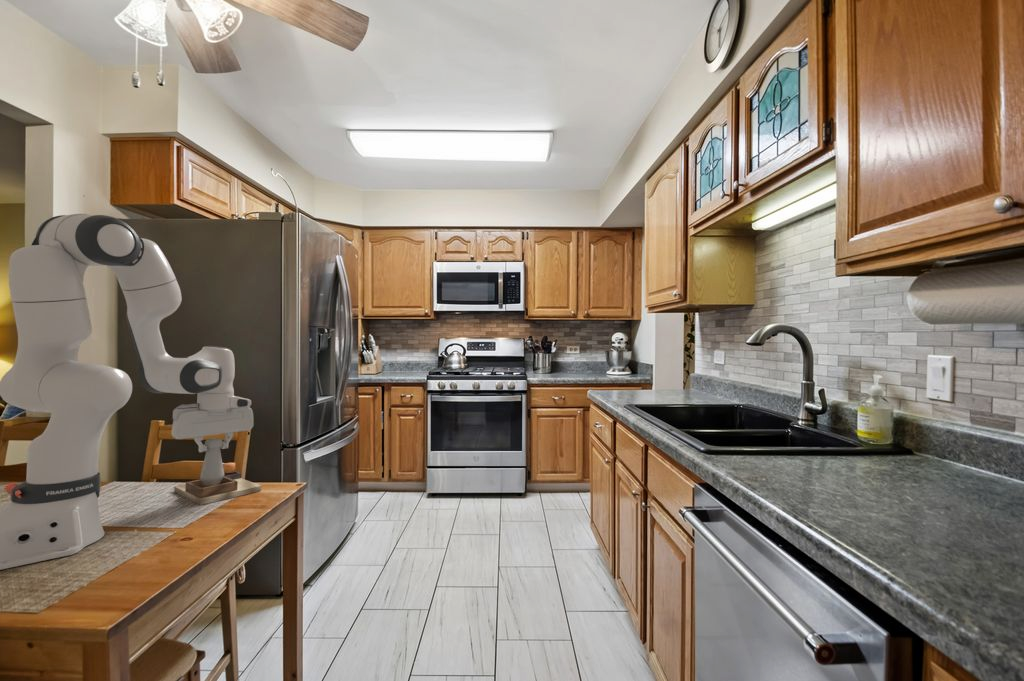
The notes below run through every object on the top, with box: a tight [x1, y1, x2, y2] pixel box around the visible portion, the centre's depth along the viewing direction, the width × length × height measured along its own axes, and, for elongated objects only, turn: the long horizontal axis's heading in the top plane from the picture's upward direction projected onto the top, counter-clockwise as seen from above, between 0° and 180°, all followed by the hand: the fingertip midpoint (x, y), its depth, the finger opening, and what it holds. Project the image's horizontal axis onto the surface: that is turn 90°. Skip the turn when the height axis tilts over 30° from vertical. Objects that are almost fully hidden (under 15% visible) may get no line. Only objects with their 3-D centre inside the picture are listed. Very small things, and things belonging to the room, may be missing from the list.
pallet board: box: [173, 470, 262, 506], centre depth 134 cm, size 16×18×4 cm
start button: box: [222, 462, 236, 473], centre depth 142 cm, size 3×3×2 cm
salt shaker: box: [199, 437, 224, 486], centre depth 130 cm, size 6×6×13 cm
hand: (213, 450), depth 130 cm, fingers closed on salt shaker, 4 cm apart
